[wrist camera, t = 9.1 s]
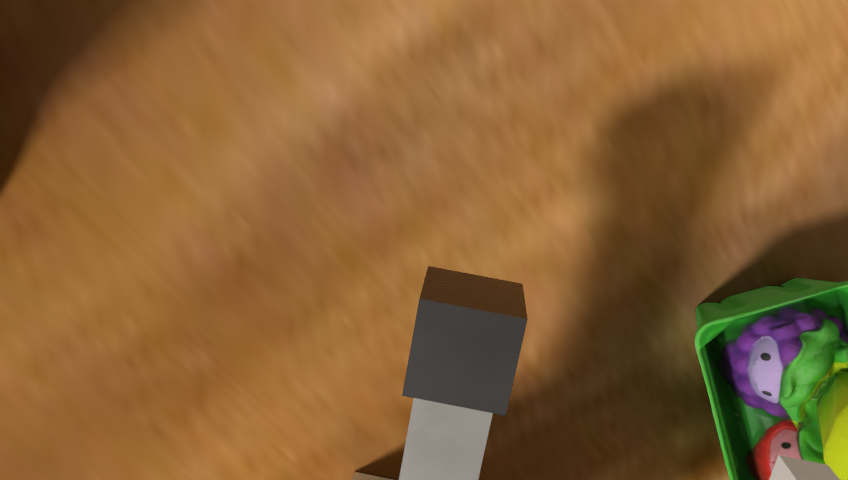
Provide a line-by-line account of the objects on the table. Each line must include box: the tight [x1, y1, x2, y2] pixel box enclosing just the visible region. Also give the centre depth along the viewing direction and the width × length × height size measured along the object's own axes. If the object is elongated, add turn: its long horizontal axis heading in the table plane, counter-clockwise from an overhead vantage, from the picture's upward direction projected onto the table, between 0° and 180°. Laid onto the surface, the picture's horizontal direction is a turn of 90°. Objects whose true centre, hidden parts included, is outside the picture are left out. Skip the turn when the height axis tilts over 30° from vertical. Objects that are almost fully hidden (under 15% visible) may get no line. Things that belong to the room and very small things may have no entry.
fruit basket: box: [695, 278, 848, 480], centre depth 30 cm, size 11×9×11 cm
